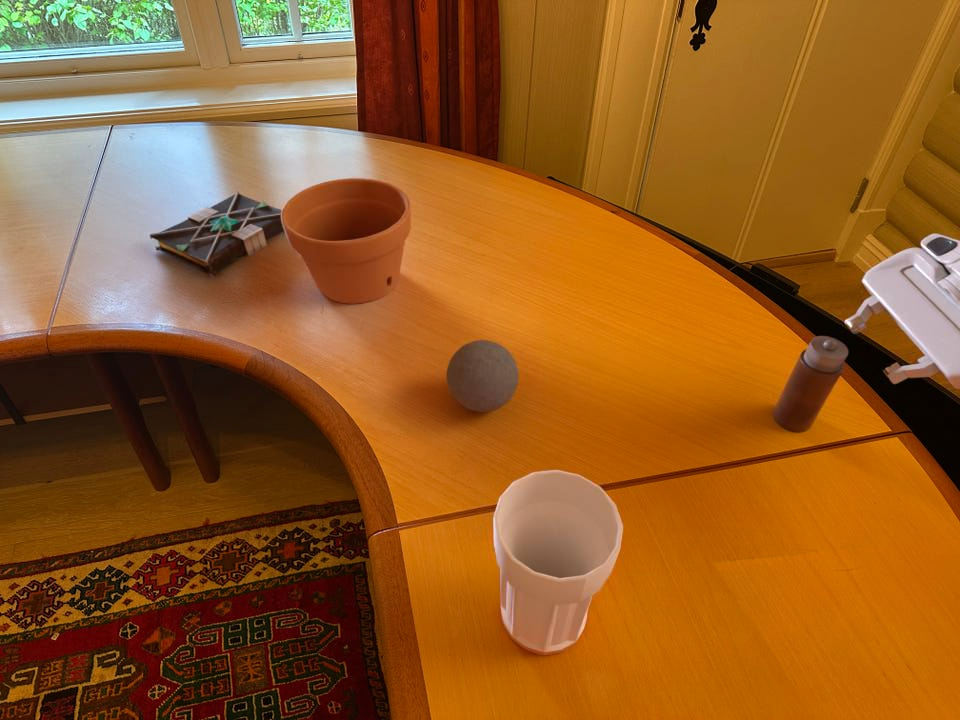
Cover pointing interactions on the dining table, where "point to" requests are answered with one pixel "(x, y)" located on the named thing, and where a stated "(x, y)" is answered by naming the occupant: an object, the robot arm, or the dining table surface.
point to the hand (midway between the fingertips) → (867, 351)
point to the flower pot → (350, 236)
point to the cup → (553, 556)
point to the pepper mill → (810, 383)
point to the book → (221, 233)
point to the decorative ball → (482, 376)
